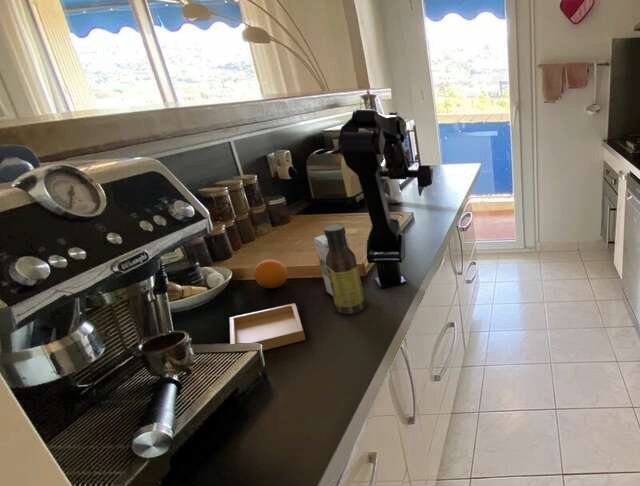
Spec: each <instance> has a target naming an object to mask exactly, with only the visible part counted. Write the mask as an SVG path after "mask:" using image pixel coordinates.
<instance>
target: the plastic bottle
mask: <svg viewBox="0 0 640 486" xmlns="http://www.w3.org/2000/svg"><path fill="white" fill-rule="evenodd" d="M382 158H383V161H381V163H380V165H382V168H383V169H382V170H381V171H388V169H386V166H385V165H386V162H385V159H384V155H383V156H382ZM386 181H387V183H388V186H389V188H390V191H391V196H389V195H387V194H386V193H385V192H384V193H385V197H386V201H387V204H399V203H401V202H402V200H403V195H402V191H401V187H400V183H399V179H386Z"/></svg>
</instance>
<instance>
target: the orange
mask: <svg viewBox="0 0 640 486" xmlns="http://www.w3.org/2000/svg"><path fill="white" fill-rule="evenodd" d="M253 277H254V280H255V281H256V283H258V285H259V286H260V287H263V288H266V289H276V288H279V287H281V286H282V285H283V284H285V282H286V280H287V279H288V270H287V268H286V266H285V264H283V263H282V262H280V261H278V260H276V259H264V260H262V261H261V262H258V264H257V265H256V266H255V267H254V270H253Z"/></svg>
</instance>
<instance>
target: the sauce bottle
mask: <svg viewBox="0 0 640 486" xmlns="http://www.w3.org/2000/svg"><path fill="white" fill-rule="evenodd" d="M323 233H324V235H325V236H326V237H327V241H328V247H329V251H328V253H327V255H326V266H327V271H328V275H329V279H330V284H331V288H332V292H333V296H332V297H333V301H334V304H335V307H336V310H337V312H338V313H340V314H343V315H353V314H358V313H360V312H361V311H363V309H365V297H364V296H365V295H364V291H363V286H362V281H361V277H360V270H359V266H358V263H357V258H356V254H355V253H354V251H353V250H352V249H351V248H350V247H349V248H348V246H347V242H346V238H347V237H346V228H345V226H344V225H343V224H331V225H327V226H324V228H323Z"/></svg>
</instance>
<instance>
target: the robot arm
mask: <svg viewBox="0 0 640 486" xmlns="http://www.w3.org/2000/svg"><path fill="white" fill-rule="evenodd" d="M360 130H365V131H360ZM406 131H407V122H406V120H405V119H404V118H403V117H401V116H399V115H398V113H397V112H389V114H388V115H384V114H381V113H379V112H378V110H375V109H356V110H353V111H352V114H351V118H350V119H349V120H348V121H347V122H345V123H344V124H343V125H342V126H341V127H340V131H339V135H338V139H337V140H338V141H337V147H338V152H339V153H340V155H341V156H342V157H343V160H344V162H345V165H346V167H347V168H349V170H351V171H352V172H353V173H354V174H355V175H356V176H357V178H358V181H359V185H360V188H361V192H362V195H363V198H364V203H365V206H366V210H367V212H368V216H369V219H370V223H371V226H370V229H369V233H368V236H367V240H366V261H367V263H368V264H375V266H376V273H377V277H374V281H375V282H376V283H377V285H378V286H379V288H380V289H386V288H390V287H395V286H399V285H403V284H406V283H407V280H406V279H405V278H404V276H402V271H401V263H403V262H404V260H405V258H406V241H405V235H404V233H402V230H401V226H400V221H399V219H397V218H391V214H390V210H389V207H388V202H387V201H386V197H385V193H386V194H387V195H389V196H391V191H390V188H389V186H388V183H387V181H386V179H398V180H407V179H408V178H409V179H412V178H413V179H416V181H417V191H418V192H417V193H418V195H419V197H422V194H423V191H424V189H425V188H428V186H432V185H433V177H434V169H433V168H434V167H432V166H431V165H418V166H417V169H409V168H410V167H411V162H410V160H411V154H410V148H409V147H404V145H403V143H404V142H405V140H406V139H405V138H406ZM383 155H384V158H383ZM382 158H383V160H384V159H385V162H386V165H385V166H386V169H388V171H382V169H383V168H382V165H381V163H382Z"/></svg>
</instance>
